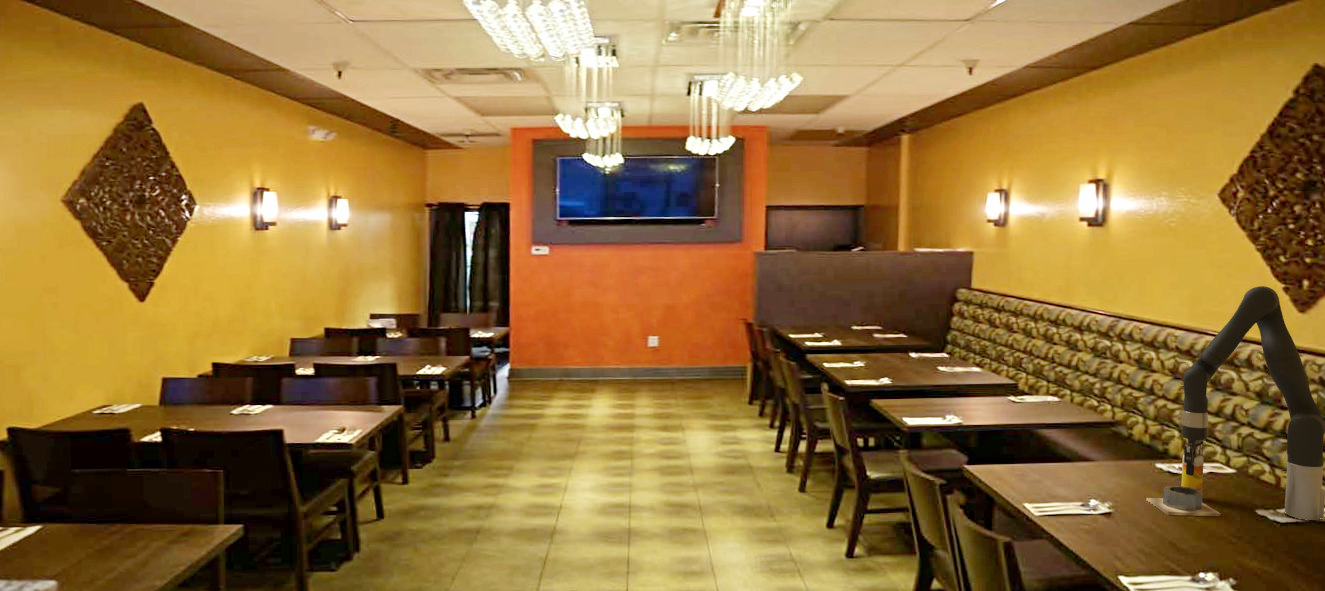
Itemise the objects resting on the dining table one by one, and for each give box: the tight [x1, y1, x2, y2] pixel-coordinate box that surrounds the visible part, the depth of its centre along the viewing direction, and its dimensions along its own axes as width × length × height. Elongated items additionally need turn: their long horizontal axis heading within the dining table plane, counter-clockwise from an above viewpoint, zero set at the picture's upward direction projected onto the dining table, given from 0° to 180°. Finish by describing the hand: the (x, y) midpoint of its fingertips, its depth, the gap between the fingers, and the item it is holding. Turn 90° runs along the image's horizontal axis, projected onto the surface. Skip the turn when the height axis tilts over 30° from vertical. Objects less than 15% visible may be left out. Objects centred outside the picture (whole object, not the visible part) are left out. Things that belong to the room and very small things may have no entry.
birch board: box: [1146, 497, 1221, 517], centre depth 290 cm, size 16×15×1 cm
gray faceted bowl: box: [1162, 485, 1204, 511], centre depth 290 cm, size 11×11×5 cm
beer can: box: [1181, 454, 1205, 492], centre depth 301 cm, size 6×6×15 cm
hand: (1192, 472), depth 301 cm, fingers closed on beer can, 5 cm apart
